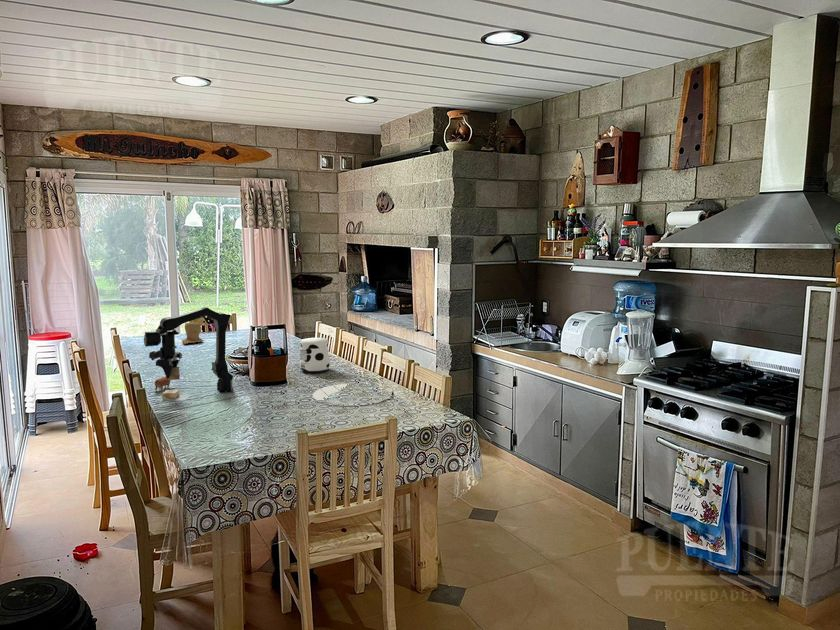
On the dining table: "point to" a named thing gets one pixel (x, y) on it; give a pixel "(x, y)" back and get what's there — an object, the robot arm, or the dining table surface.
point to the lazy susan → (333, 391)
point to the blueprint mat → (181, 397)
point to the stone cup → (192, 333)
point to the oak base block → (170, 394)
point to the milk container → (314, 355)
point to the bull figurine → (162, 383)
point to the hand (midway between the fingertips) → (170, 376)
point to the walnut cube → (174, 374)
